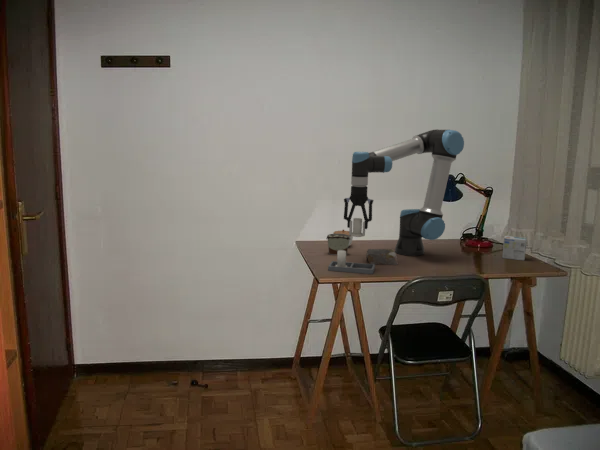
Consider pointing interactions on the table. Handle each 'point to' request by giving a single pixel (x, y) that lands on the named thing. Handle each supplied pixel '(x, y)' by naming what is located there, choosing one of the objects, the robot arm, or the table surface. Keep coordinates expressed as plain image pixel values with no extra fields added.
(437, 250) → the table surface
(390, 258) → the geological specimen
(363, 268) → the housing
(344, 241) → the food container
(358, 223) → the white pillar candle
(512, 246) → the light bulb box
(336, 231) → the lidded jar
